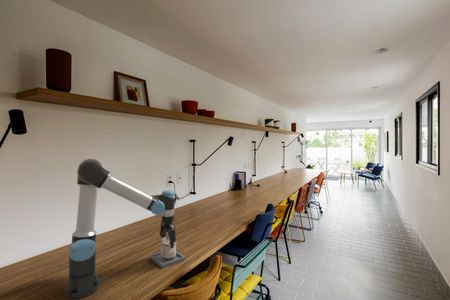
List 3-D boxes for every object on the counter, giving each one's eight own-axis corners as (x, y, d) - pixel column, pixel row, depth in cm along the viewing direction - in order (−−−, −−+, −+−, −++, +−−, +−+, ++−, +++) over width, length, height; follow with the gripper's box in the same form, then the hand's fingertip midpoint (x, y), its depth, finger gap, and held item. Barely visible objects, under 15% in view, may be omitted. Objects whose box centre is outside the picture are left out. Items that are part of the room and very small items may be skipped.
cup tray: (161, 268, 147) (161, 264, 147) (149, 258, 159) (149, 255, 159) (185, 259, 158) (185, 256, 158) (172, 251, 170) (172, 248, 170)
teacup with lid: (169, 251, 166) (169, 234, 165) (179, 254, 161) (179, 237, 160) (155, 258, 156) (155, 239, 155) (165, 262, 151) (165, 243, 150)
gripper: (182, 218, 152) (181, 254, 153) (164, 210, 168) (164, 243, 169) (171, 220, 147) (170, 258, 148) (154, 212, 163) (154, 246, 164)
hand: (167, 250), depth 158 cm, fingers closed on teacup with lid, 9 cm apart
